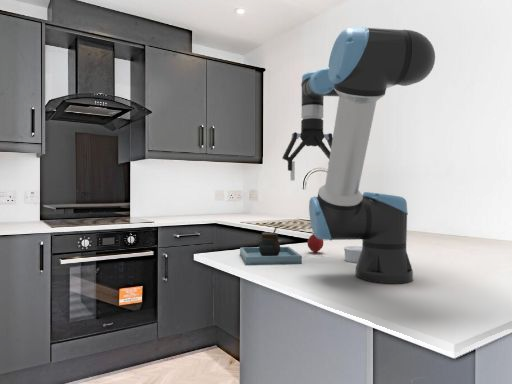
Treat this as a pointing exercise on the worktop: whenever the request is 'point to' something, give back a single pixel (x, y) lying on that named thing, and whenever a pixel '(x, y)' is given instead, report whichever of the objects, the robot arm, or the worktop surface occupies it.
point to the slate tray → (285, 256)
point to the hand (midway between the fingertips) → (311, 180)
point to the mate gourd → (269, 244)
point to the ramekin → (352, 253)
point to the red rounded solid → (315, 243)
